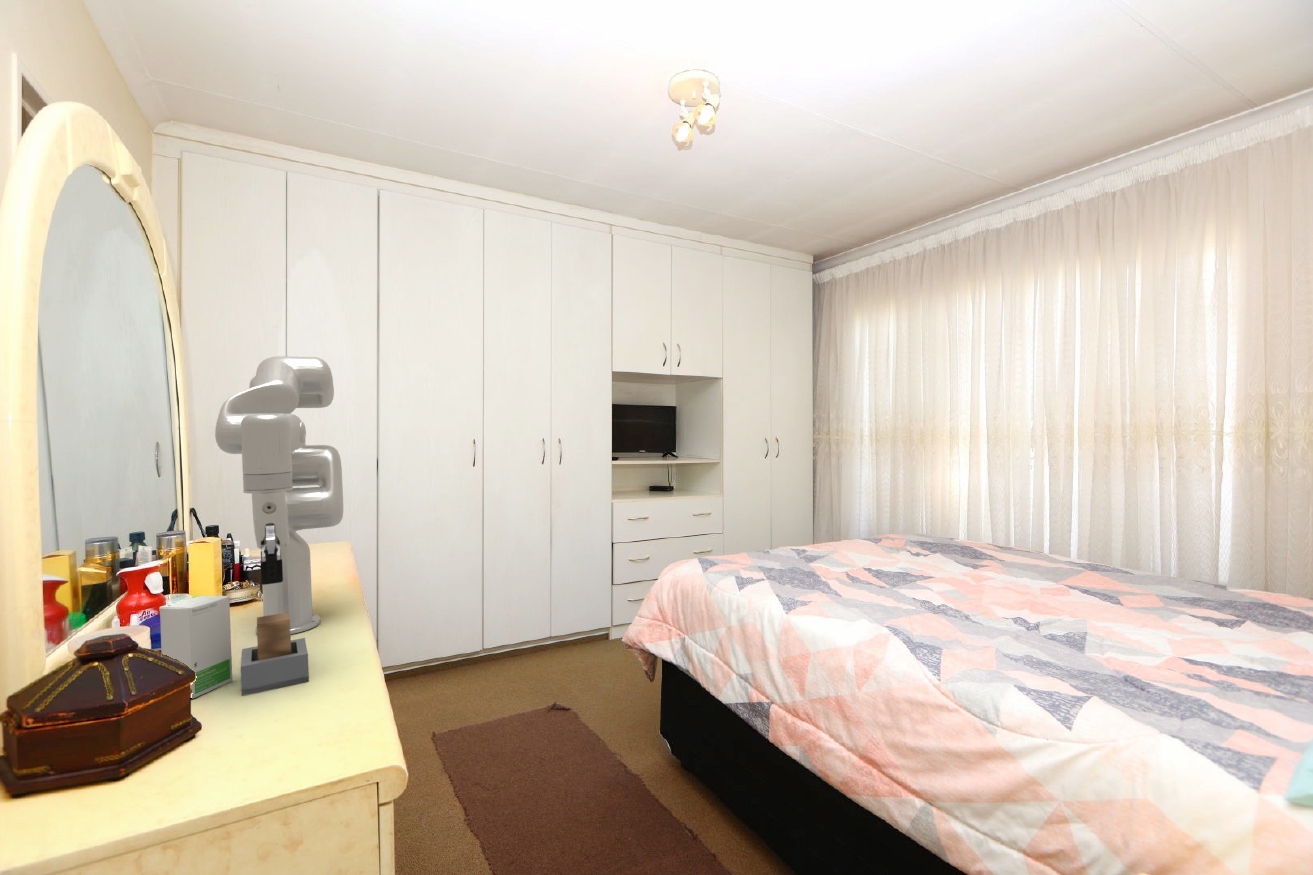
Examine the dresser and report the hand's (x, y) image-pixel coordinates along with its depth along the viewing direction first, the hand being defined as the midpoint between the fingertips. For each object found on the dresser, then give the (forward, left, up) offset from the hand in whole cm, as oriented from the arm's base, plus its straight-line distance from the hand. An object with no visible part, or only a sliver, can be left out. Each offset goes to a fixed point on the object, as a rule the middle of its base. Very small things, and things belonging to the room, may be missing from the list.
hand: (271, 577), depth 112 cm
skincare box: (-3, -12, -19) cm, 22 cm away
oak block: (0, 0, -18) cm, 18 cm away
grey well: (0, 0, -19) cm, 19 cm away
